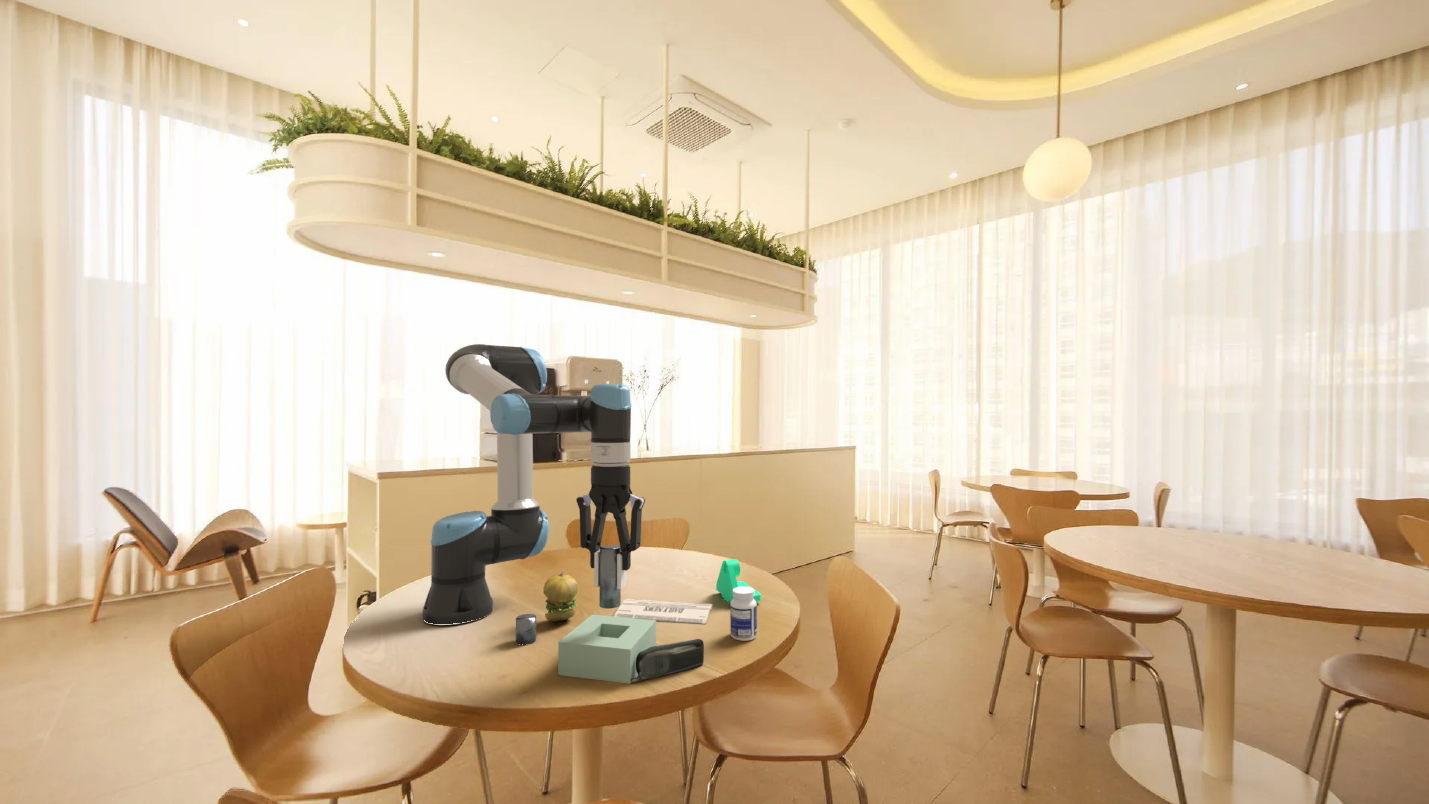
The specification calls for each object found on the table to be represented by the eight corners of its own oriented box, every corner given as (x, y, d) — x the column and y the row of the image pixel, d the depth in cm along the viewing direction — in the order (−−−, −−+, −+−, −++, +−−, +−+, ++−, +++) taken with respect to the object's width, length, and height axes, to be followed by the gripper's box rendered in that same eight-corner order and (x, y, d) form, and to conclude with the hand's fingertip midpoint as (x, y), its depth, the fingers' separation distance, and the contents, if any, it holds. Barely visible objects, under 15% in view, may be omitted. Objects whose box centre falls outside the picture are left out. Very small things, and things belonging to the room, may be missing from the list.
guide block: (558, 675, 101) (558, 641, 101) (591, 643, 115) (592, 614, 115) (630, 683, 98) (630, 649, 98) (656, 650, 111) (656, 620, 112)
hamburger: (573, 614, 131) (574, 563, 131) (581, 624, 125) (581, 571, 125) (540, 620, 127) (540, 567, 128) (546, 631, 121) (546, 576, 121)
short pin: (511, 644, 114) (512, 619, 114) (522, 636, 118) (522, 613, 118) (529, 646, 113) (529, 621, 113) (539, 638, 117) (539, 614, 117)
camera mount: (762, 605, 138) (762, 563, 138) (734, 609, 135) (734, 567, 136) (742, 590, 149) (742, 552, 149) (716, 594, 147) (716, 555, 147)
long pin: (595, 607, 105) (596, 549, 105) (604, 600, 109) (604, 544, 109) (615, 609, 104) (615, 550, 104) (623, 602, 108) (624, 545, 108)
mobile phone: (699, 635, 108) (627, 650, 100) (707, 640, 105) (634, 657, 97) (698, 661, 108) (626, 678, 100) (706, 667, 105) (633, 685, 97)
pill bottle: (742, 628, 123) (742, 583, 123) (762, 636, 119) (762, 589, 119) (724, 636, 119) (724, 589, 119) (744, 644, 115) (744, 596, 115)
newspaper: (713, 607, 137) (713, 598, 137) (705, 632, 125) (705, 621, 125) (625, 602, 141) (625, 592, 141) (609, 625, 129) (609, 615, 128)
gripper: (561, 465, 105) (560, 588, 105) (645, 467, 101) (645, 595, 101) (579, 461, 112) (578, 577, 112) (658, 463, 109) (658, 583, 108)
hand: (610, 585), depth 106 cm, fingers closed on long pin, 4 cm apart
